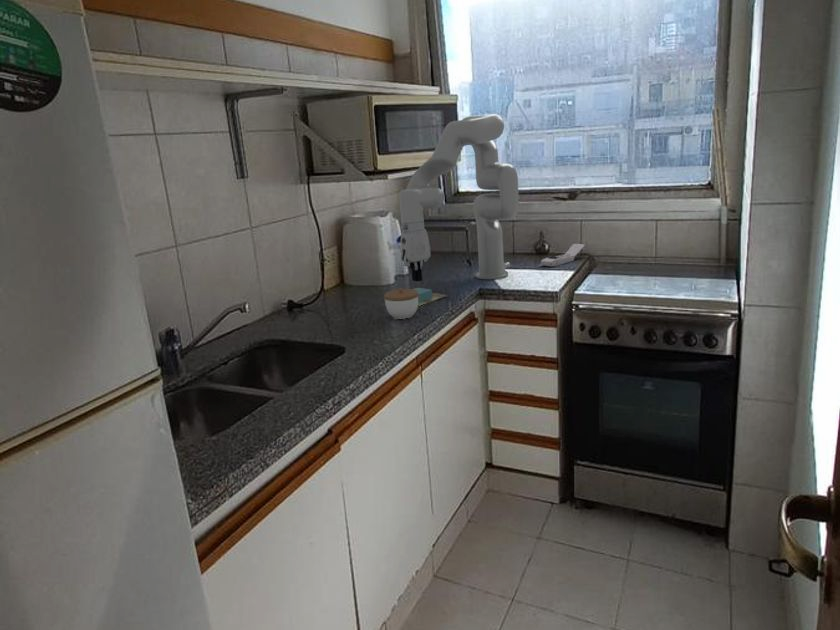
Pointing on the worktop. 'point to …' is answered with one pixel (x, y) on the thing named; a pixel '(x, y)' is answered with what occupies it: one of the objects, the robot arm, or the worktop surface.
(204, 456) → the worktop surface
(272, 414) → the worktop surface
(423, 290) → the tile
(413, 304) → the lidded jar
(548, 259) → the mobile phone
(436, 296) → the mat
